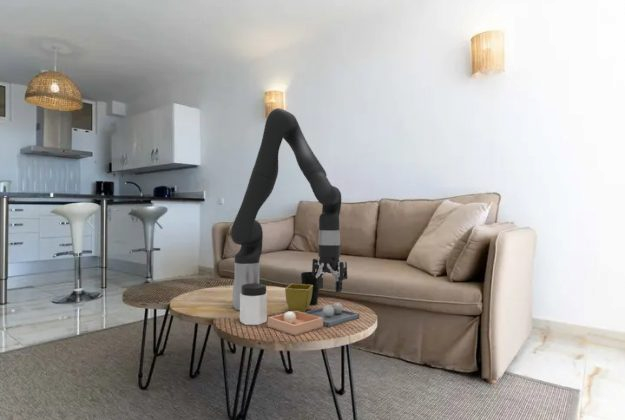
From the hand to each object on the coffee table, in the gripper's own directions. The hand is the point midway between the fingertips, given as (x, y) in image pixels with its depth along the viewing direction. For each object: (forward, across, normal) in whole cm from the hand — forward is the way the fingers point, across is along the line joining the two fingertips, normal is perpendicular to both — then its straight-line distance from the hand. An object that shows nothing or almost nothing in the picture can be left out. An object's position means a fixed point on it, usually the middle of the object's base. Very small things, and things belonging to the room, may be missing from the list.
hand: (329, 290), depth 137 cm
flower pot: (+10, -14, -1) cm, 17 cm away
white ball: (+9, -3, -16) cm, 18 cm away
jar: (+10, -14, -22) cm, 28 cm away
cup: (+10, -19, +10) cm, 24 cm away
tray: (+10, 0, 0) cm, 10 cm away
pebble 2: (+9, 0, +5) cm, 10 cm away
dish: (+10, 0, -16) cm, 18 cm away
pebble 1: (+9, 0, 0) cm, 9 cm away
